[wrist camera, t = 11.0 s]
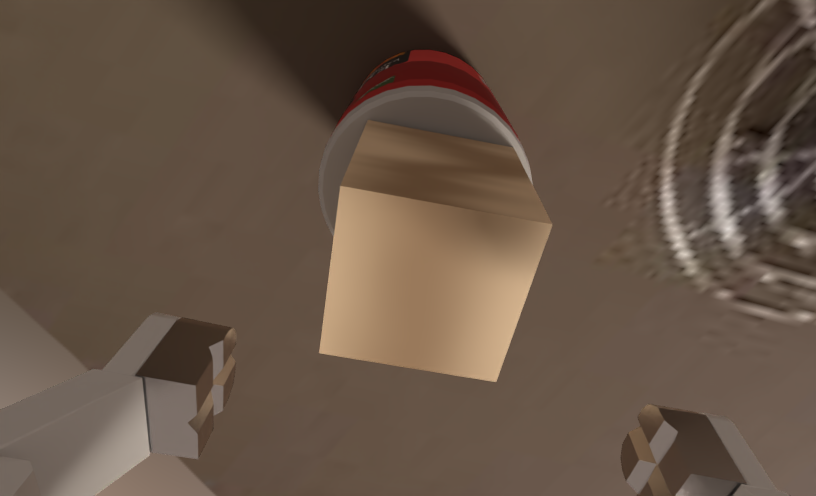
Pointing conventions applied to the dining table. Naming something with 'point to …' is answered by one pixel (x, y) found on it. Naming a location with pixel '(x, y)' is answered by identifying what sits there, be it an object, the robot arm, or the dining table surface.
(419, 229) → the oak block
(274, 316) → the dining table surface
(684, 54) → the dining table surface
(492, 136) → the canned food
